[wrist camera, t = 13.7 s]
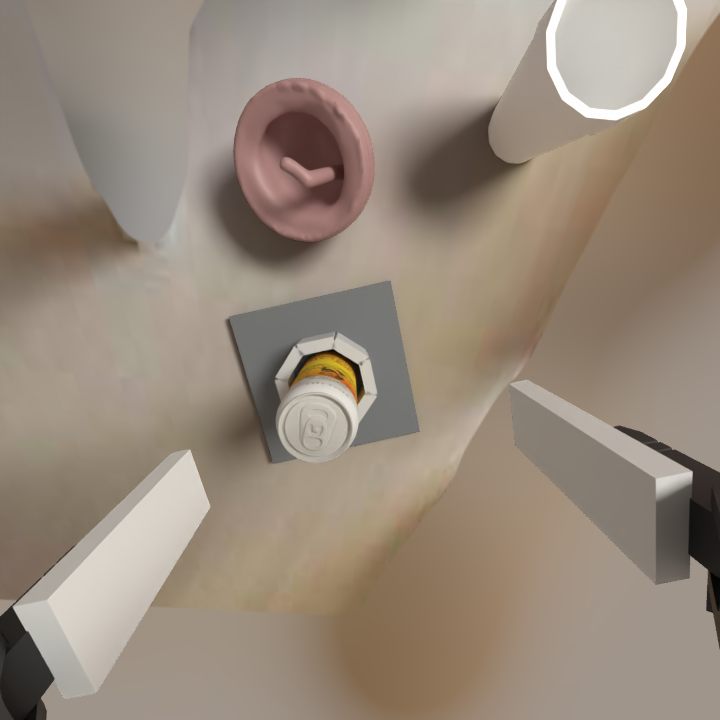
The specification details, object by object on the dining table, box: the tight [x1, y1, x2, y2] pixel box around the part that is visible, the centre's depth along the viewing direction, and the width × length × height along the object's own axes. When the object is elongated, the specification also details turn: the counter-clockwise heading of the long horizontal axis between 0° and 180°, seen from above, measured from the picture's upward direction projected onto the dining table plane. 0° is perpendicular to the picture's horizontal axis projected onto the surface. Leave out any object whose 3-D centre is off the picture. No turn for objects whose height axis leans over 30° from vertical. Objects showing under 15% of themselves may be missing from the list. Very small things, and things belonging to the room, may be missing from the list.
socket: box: [229, 281, 420, 464], centre depth 37 cm, size 18×18×5 cm
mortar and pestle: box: [234, 78, 375, 242], centre depth 30 cm, size 12×12×12 cm
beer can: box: [276, 351, 358, 463], centre depth 31 cm, size 6×6×15 cm
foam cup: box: [488, 0, 687, 164], centre depth 28 cm, size 10×9×13 cm
